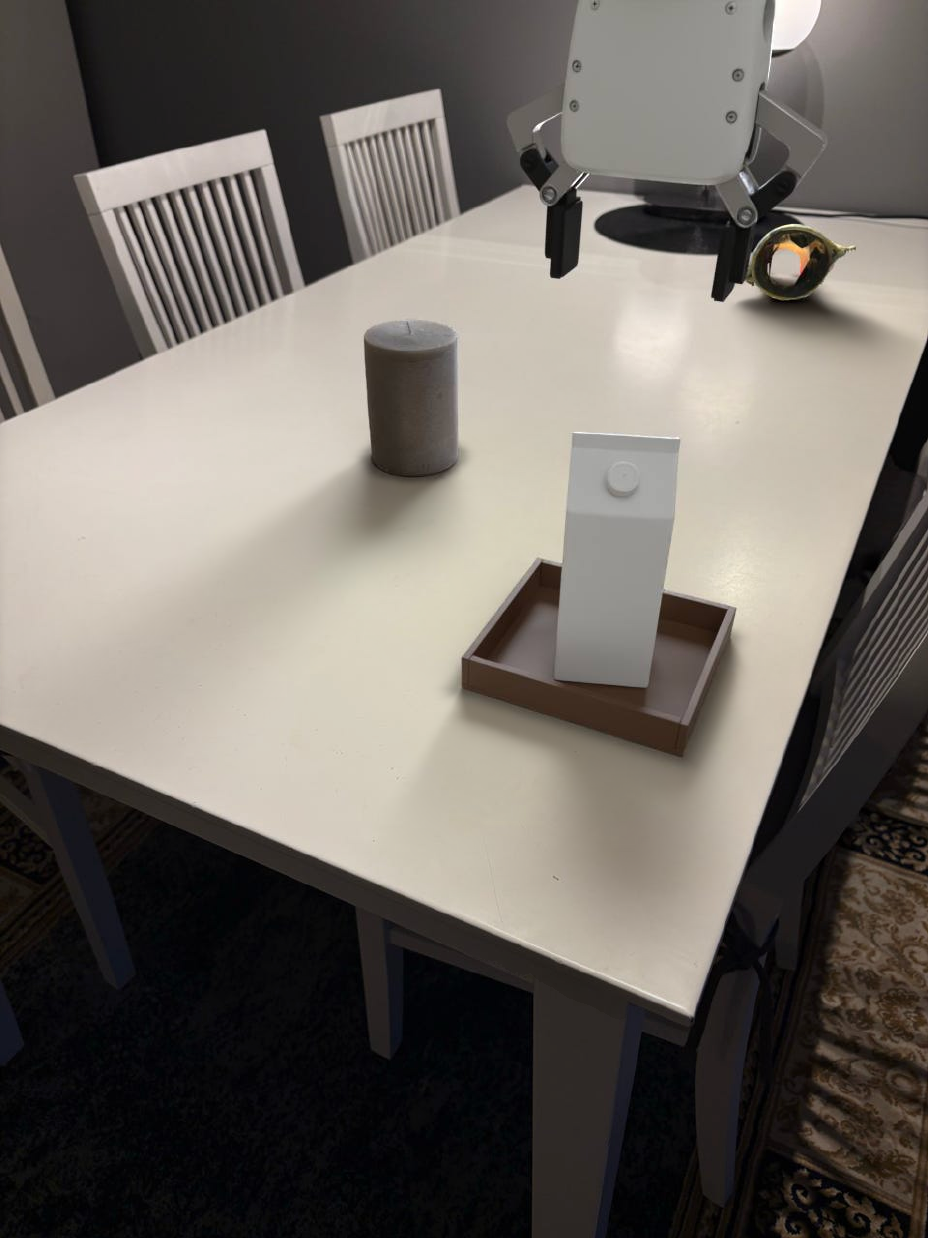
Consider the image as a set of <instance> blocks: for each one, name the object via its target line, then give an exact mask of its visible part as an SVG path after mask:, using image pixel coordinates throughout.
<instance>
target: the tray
mask: <svg viewBox="0 0 928 1238" xmlns="http://www.w3.org/2000/svg"><path fill="white" fill-rule="evenodd" d="M561 573H562V562H558V561H554V560H551V559H546V558H542V557H536V558H535V560H534V562H533V563H532V564H531V565H530V567H529V568H528V569H527V570H526V572H525V573H524V575H523V576H522V577H521V578H520V580H519V581H518V582H517V584H516V585H515V586H514V588H513V589H512V590H511V592H510V593H509V594H508V596H506V598H505V599H504V601H503V602H502V604H501V605H500V606H499V607H498V609H497V610H496V611H495V613H494V614H493V616H492V617H491V618H490V619H489V620H488V622H487V623H486V625H484V627H483V628H482V630H481V632H480V633H479V634H478V635H477V637H476V638H475V639H474V641H473V642H472V643H471V644H470V646H469V647H468V648H467V650H466V651H465V652H464V653H463V655H462V656H461V688H462V689H464V690H468V691H471V692H475V693H478V694H481V695H484V696H487V697H491V698H494V699H497V700H500V701H503V702H506V703H510V704H513V705H516V706H519V707H522V708H525V709H528V710H531V711H535V712H538V713H541V714H544V715H547V716H550V717H554V718H557V719H559V720H563V721H567V722H570V723H573V724H575V725H579V726H581V727H585V728H588V729H592V730H595V731H598V732H601V733H604V734H607V735H610V736H613V737H617V738H619V739H624V740H626V741H630V742H633V743H636V744H639V745H641V746H645V747H648V748H652V749H655V750H657V751H661V752H664V753H667V754H671V755H674V756H677V757H680V758H683V757H684V754H685V753H686V749H687V747H688V744H689V741H690V739H691V737H692V734H693V731H694V729H695V726H696V724H697V721H698V719H699V717H700V714H701V712H702V709H703V706H704V704H705V701H706V699H707V696H708V694H709V692H710V689H711V687H712V684H713V681H714V679H715V676H716V674H717V671H718V669H719V667H720V665H721V661H722V659H723V656H724V654H725V651H726V648H727V646H728V644H729V642H730V639H731V636H732V631H733V627H734V622H735V618H736V613H737V609H738V608H737V607H736V606H732V605H728V604H724V603H720V602H716V601H714V600H713V601H712V600H708V599H705V598H701V597H696V596H693V595H689V594H685V593H681V592H678V591H673V590H669V589H666V588H663V594H662V600H661V607H660V613H659V619H658V626H657V632H656V638H655V645H654V651H653V657H652V664H651V670H650V676H649V683H648V686H647V687H646V688H643V687H630V686H619V685H608V684H597V683H585V682H574V681H563V680H555V679H554V667H555V653H556V640H557V626H558V613H559V599H560V586H561Z"/></svg>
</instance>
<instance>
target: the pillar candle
mask: <svg viewBox="0 0 928 1238" xmlns="http://www.w3.org/2000/svg"><path fill="white" fill-rule="evenodd" d="M458 339H459V332H458V331H456V330H455V329H454V328H453V327H451V326H449V325H447V324H444V323H442V322H441V323H440V322H437V321H432V320H427V319H426V320H424V319H418V318H417V319H416V318H407V319H406V318H405V319H399V320H391V321H386V322H381V323H378V324H375V325H372V326H371V327H370V328H368V329H367V330H366V331H365V332H364V334H363V350H364V351H363V352H364V353H363V354H364V355H363V356H364V367H365V369H364V371H365V383H366V384H365V386H366V398H367V399H366V402H367V416H368V426H369V436H370V437H369V438H370V451H371V456H370V457H371V461H372V463H373V465H374V466H375V467H376V468H378V469H380V470H382V471H383V472H386V473H387V474H391V475H394V476H405V477H422V476H428V475H435V474H439V473H441V472H443V471H446V470H448V469H449V468H451V467H452V466H454V464H455V463H456V462H457V460H458V458H459V380H458V379H459V378H458V377H459V376H458V375H459V371H458V370H459V365H458V364H459V363H458Z"/></svg>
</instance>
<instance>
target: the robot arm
mask: <svg viewBox="0 0 928 1238" xmlns="http://www.w3.org/2000/svg"><path fill="white" fill-rule="evenodd" d="M776 1H777V0H578V2H577V7H576V12H575V16H574V20H573V21H574V22H573V27H572V33H571V39H570V43H569V45H570V46H569V51H568V59H567V67H566V74H565V82H564V83H562V84H561V85H558V86H557V87H555V88H553V89H551V90H549V91H547V92H546V93H544V94H541V95H540V96H539V97H537V98H535V99H533V100H531V101H529V102H528V103H526V104H524V105H522V106H521V107H518V108H516V109H514V111H511V112H510V113H509V114H508V115H507V117H506V120H505V121H506V122H505V124H506V128H507V130H508V133H509V136H510V137H511V140H512V143H513V145H514V148H515V151H516V153H518V156H519V165H520V168H521V169H522V171H523V172H524V174H525V175H526V176H527V177H528V179H529V180H530V182H531V183H532V184H533V186H534V187H535V188H536V189H537V191H538V193H539V200H540V202H541V203H542V204H543V205H544V206H546V216H545V217H546V219H545V221H546V222H545V235H544V236H545V239H544V256H545V258H546V259H547V260H550V265H549V277H550V278H551V279H554V280H555V279H557V280H560V279H562V278H564V277H565V276H567V275H568V274H569V273H570V272H572V271H573V270H575V268H576V267H578V265H579V260H580V246H581V233H582V219H583V207H584V202H583V200H581V198H582V197H581V196H577V191H578V188H579V187H580V185H581V184H582V183H583V182H584V181H585V180H586V178H587V177H588V176H589V175H595V176H605V177H614V178H622V179H623V178H624V179H633V180H642V181H643V180H644V181H652V182H653V181H654V182H663V183H673V184H686V185H699V186H701V185H702V186H714V188H715V189H716V190H715V191H716V192H717V193H718V195H719V197H720V198H721V200H722V201H723V203H724V205H725V207H726V209H727V210H728V213H729V221H727V223H726V224H725V225H724V226H723V227H722V229H721V232H720V238H719V244H718V250H717V255H716V256H717V257H716V262H715V267H714V268H715V269H714V275H713V280H712V286H711V287H712V288H711V294H710V298H711V299H713V301H714V302H719V303H724V302H725V301H726V300H727V299H728V297H729V295H730V294H732V292H733V290H734V288H735V285H743V284H744V283H745V279H746V276H747V272H748V267H749V263H750V260H751V257H752V250H753V244H754V240H755V234H756V228H757V223H758V221H759V220H760V219H761V218H763V217H764V216H766V214H768V213H769V212H770V211H772V210H773V209H774V208H776V207H777V206H778V205H779V204H780V203H782V202H783V201H784V200H785V199H787V198H788V197H790V196H791V194H792V193H793V192H794V191H795V190H796V188H797V187H798V186H799V185H800V183H801V182H802V181H803V180H804V177H805V176H806V175H807V173H808V172H809V171H810V170H811V168H812V167H813V165H814V164H815V163H816V161H817V159H818V158H819V157H820V156H821V155H822V153H823V152H824V150H825V149H826V147H827V146H828V142H829V138H828V135H827V134H826V132H825V131H823V130H821V128H819V127H817V126H816V125H815V124H813V123H812V122H811V121H809V120H808V119H806V118H805V117H804V116H802V115H801V114H799V113H798V112H796V111H795V110H794V109H792V108H791V107H790V106H788V105H787V104H786V103H784V102H783V101H782V100H780V99H779V98H778V97H775V96H774V95H773V94H771V93H770V92H769V91H768V85H769V75H770V71H771V69H770V68H771V63H772V52H773V41H774V31H775V19H776V4H777V3H776ZM559 115H561V119H560V121H561V124H560V152H561V157H562V159H563V161H562V162H561V163H560V164H559V163H558V162H557V161H556V159H555V158H554V156H553V155H552V154H551V153H550V150H548V149H547V148H546V147H545V145H544V142H543V136H542V134H541V128H542V126H543V124H545V123H546V122H548V121H550V120H552V119H553V118H556V117H557V116H559ZM762 130H764V131H765V132H767V133H768V134H769V135H771V136H772V137H773V138H775V139H776V140H778V141H779V142H780V143H781V144H783V145H785V146H786V147H787V150H788V157H787V159H786V161H785V162H784V163H783V165H782V166H781V168H780V169H779V171H778V172H777V173H776V174H775V175H773V176H772V177H771V178H770V179H769V180H767V181H766V182H765V183H764V184H763V185H761V186H760V185H759V183H758V182H757V180H756V178H755V176H754V175H753V173H752V172H751V169H750V167H749V165H750V164H752V163H753V161H754V160H755V157H756V155H757V152H758V149H759V145H760V141H761V135H762Z"/></svg>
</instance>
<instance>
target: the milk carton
mask: <svg viewBox="0 0 928 1238" xmlns="http://www.w3.org/2000/svg"><path fill="white" fill-rule="evenodd" d="M680 446H681V437H676V436H675V437H674V436H657V435H655V436H654V435H641V434H640V435H638V434H623V433H622V434H621V433H606V432H605V433H603V432H588V431H572V435H571V448H570V458H569V459H570V460H569V469H568V471H569V472H568V484H567V494H566V495H567V496H566V506H565V507H566V509H565V521H564V534H563V535H564V536H563V546H562V547H563V548H562V562H561V563H562V573H561V586H560V599H559V613H558V626H557V640H556V653H555V667H554V679H555V680H563V681H574V682H585V683H597V684H608V685H619V686H630V687H643V688H646V687H647V686H648V683H649V676H650V670H651V664H652V657H653V651H654V645H655V638H656V632H657V626H658V619H659V613H660V607H661V600H662V594H663V589H665V587H664V586H665V581H666V574H667V567H668V561H669V556H670V549H671V543H672V536H673V530H674V524H675V518H676V501H677V488H678V487H677V485H678V467H679V452H680Z"/></svg>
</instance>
